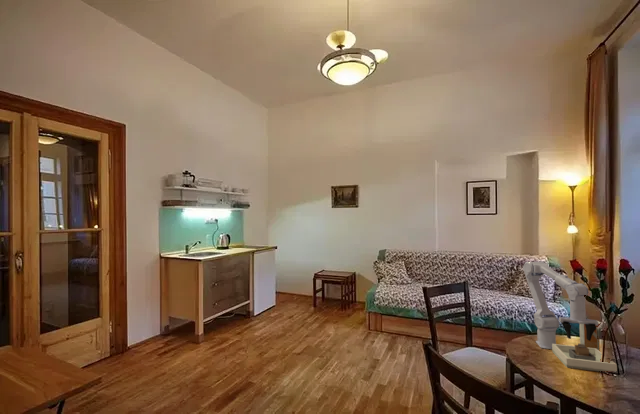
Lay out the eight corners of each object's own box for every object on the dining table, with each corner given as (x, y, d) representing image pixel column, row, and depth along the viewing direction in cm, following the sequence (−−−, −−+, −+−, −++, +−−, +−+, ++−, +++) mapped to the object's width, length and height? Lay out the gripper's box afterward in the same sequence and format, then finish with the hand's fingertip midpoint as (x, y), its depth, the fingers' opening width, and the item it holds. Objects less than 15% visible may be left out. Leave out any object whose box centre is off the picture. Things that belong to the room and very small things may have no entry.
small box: (584, 347, 164) (583, 322, 165) (579, 343, 170) (578, 318, 171) (604, 349, 161) (603, 323, 162) (598, 345, 167) (597, 320, 168)
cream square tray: (552, 351, 159) (552, 343, 159) (596, 356, 153) (596, 348, 153) (566, 367, 142) (566, 358, 142) (617, 373, 136) (616, 364, 136)
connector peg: (575, 357, 150) (574, 342, 150) (585, 358, 148) (584, 343, 149) (578, 360, 146) (578, 345, 146) (589, 362, 145) (588, 346, 145)
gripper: (562, 310, 147) (563, 340, 147) (601, 313, 143) (602, 344, 142) (556, 306, 154) (557, 334, 153) (593, 309, 149) (594, 338, 149)
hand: (578, 339), depth 148 cm, fingers open, 7 cm apart
